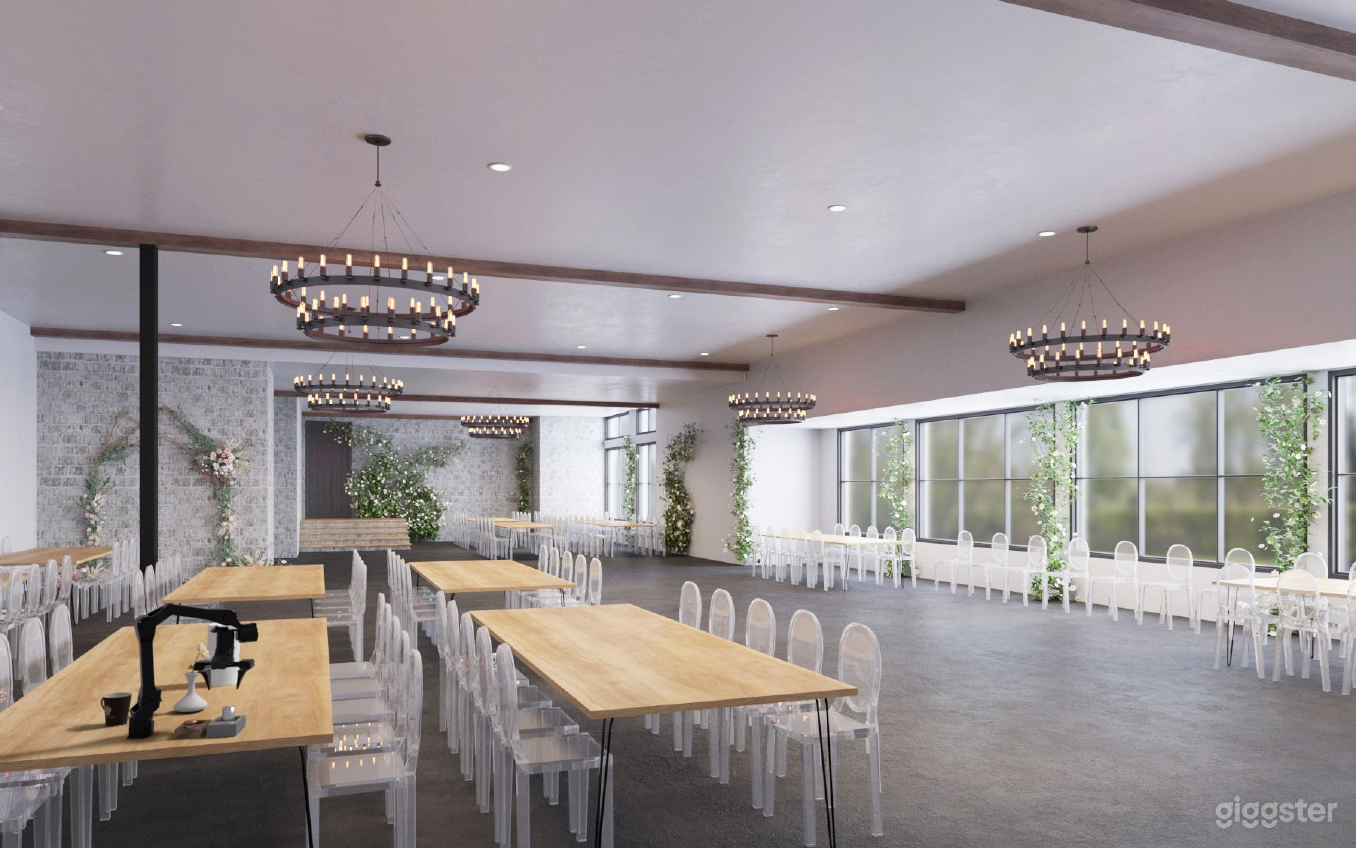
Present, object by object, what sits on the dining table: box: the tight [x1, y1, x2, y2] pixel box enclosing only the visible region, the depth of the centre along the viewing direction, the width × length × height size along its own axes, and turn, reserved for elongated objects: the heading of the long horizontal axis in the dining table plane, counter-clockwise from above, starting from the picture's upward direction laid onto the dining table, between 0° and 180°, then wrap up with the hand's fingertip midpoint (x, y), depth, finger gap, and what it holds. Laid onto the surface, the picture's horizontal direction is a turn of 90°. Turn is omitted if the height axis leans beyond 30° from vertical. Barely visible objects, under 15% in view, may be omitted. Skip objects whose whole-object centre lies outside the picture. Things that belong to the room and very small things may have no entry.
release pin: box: [183, 719, 198, 728], centre depth 308 cm, size 4×4×4 cm
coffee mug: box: [100, 691, 133, 727], centre depth 324 cm, size 12×9×10 cm
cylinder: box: [205, 622, 241, 688], centre depth 392 cm, size 12×12×25 cm
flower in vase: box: [172, 641, 210, 713], centre depth 344 cm, size 13×11×25 cm
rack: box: [206, 714, 247, 738], centre depth 313 cm, size 9×12×4 cm
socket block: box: [173, 719, 213, 740], centre depth 311 cm, size 8×12×3 cm, turn 11°
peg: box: [221, 705, 236, 721], centre depth 315 cm, size 4×4×8 cm
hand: (223, 689), depth 324 cm, fingers open, 9 cm apart
